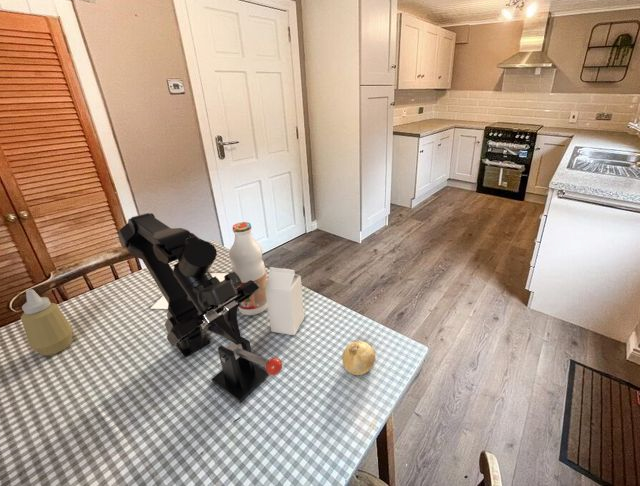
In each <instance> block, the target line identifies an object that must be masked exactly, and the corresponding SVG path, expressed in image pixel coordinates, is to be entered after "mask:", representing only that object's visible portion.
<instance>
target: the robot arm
mask: <svg viewBox="0 0 640 486" xmlns="http://www.w3.org/2000/svg"><path fill="white" fill-rule="evenodd" d="M118 241H119V243H120V246H121V247H122V248H123V249H126V250H127V252H128V254H129V255H130V256H133V257H135V258H137V259H139V260H142V262H143V264H144V266H145V267H146V269H147V270H148V272H149V274H150V276H151V277H152V279H153V280H154V282H155V284H156V285H157V287H158V289H159V290H160V292H161V294H162V296H163V295H164V297H165V299H166V300H167V302H168V309H167V312H166V318H167V319H166V321H165V323H164V326H165V329H166V331H167V335H166V340H167V341H168V344H169V345H170V346H171V348H173V347H175V346H176V348H177V349H178V351H179V352H180V353H181V355H182V356H183V357H184V358H188V357H190V356H191V355H193V354H194V353H196V352H198V351H201V350H202V349H203V348H205V347H208V346H209V345H211V340H210V339H209V338H208V337H207V335H205V333H204V332H206V331H209V332H211V333H213V334H216V335H218V336H220V337H222V338H224V339H226V340H228V341H229V342H231V343H235V344H236V345H238V344H240V343H241V342H242V339H241V336H242V335H241V330H240V326H239V322H238V307H239V306H240V303H241V302H243V301H244V300H246V299H247V298H249V297H250V296H252V295H253V294H254V293H255V292H256V291H257V290H258V289H259V288H260V287H259V286H258V284H257V283H256V282H255V281H252V280H250V281H248V282H246V283H245V284H243V285H241V284H242V282H241V279H240V277H239V276H238V275H237V274H236V272H235V271H234V272H232V271H231V272H229V274H227V275H225V276H224V278H225V280H223V281H221V282H220V281H219V280H218V278H216V276H215V277H212V275H211V274H210V273H211V272H210V271H209V270H210V269H211V268H212V265H213V264H214V262H215V260H216V258H217V256H218V255H217V254H218V251H217V249H216V246H215V245H214V244H212V243H211V242H209V241H207V240H204V239H202V238H199V237H198V236H197V235H195V233H193V232H190V230H189V229H186V228H182V227H175V228H172V227H170V226H168V225H167V224H165V223H164V222H162V221H161V220H159V219H157V217H156V216H155V214H154V213H152V212H149V213H148V212H146V213H143V214H139V215H138V214H137V215H135V216H132V217H131V218H128V221H127V223H126V224H124V226H123V227H121V228H120V229H119V230H118ZM175 261H178V262H176V263H174V264H173V268H172V267H171V265H170V263H172V262H175ZM240 285H241V286H240ZM238 286H240V287H238ZM236 287H238V288H237V289H236ZM237 303H238V304H237Z"/></svg>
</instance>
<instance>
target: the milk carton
mask: <svg viewBox="0 0 640 486" xmlns="http://www.w3.org/2000/svg"><path fill="white" fill-rule="evenodd" d="M265 291H266V298H267V305H268V307H267V311H268V312H267V313H268V319H269V326H270V332H273V333H276V334H277V333H278V334H284V335H290V336H295V335H296V334H297V331H298V330H299V328H300V327H301V325H302V324H303V321H304V319H305V311H304V310H305V309H304V298H303V287H302V276H301V275H300V274H296V271H295V269H290V268H280V267H272V266H271V267H269V273H268V276H267V282H266V286H265Z"/></svg>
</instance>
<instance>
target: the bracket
mask: <svg viewBox="0 0 640 486" xmlns="http://www.w3.org/2000/svg"><path fill="white" fill-rule="evenodd" d="M241 339H242V342H241V343H240V344H241V345H242V348H243V350H245V351H247V352H250V353H252V354H253V352H252V348H251V342H250V340H249V339H247V338H245V337H243V336H242V335H241ZM217 352H218V356H219V361H220V365H221V371H219V372H218V373H217V374H215V375H214V376H213V377H212V378H211V383H212V384H213V385H215V386H216V387H218V388H219V389H220V390H221V391H222V392H224V393H225V394H227V395H228V396H229V397H231V398H232V399H234V400H235V401H236V402H237V403H239V404H242V403H243V402H244V401H245V400H246V399H247V398H248V397H249V396H250V395H251V394H252V393H253V392H254V391H255V390H256V389H257V388H258V387H260V386H261V384H263V383H264V381H266V379H267V378H269V376H270V375H269V374H268V373H267V371H266V370H265V369H263V368H261V367H260V366H258V364H256V363H254V362H252V361H249V360H247V359H244V358H242V357H239V358H238V359H237V360H235V355H234V353H233V352H231V351H230V350H228V349H227V348H226V347H225V346H224V345H222V344H221V345H219V346H218V347H217Z"/></svg>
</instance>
